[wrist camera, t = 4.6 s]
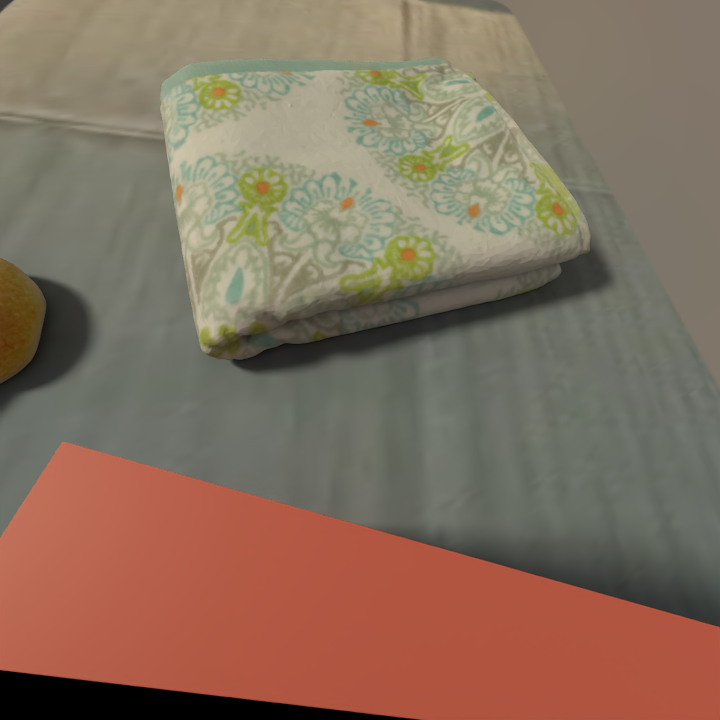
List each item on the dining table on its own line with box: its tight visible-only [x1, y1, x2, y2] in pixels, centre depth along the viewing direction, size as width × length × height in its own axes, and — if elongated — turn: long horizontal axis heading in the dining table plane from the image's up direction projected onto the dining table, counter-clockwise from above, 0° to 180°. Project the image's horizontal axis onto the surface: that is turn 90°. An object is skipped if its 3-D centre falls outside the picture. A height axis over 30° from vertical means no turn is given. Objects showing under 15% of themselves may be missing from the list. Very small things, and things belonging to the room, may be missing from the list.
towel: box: [160, 59, 591, 360], centre depth 21 cm, size 18×21×5 cm
